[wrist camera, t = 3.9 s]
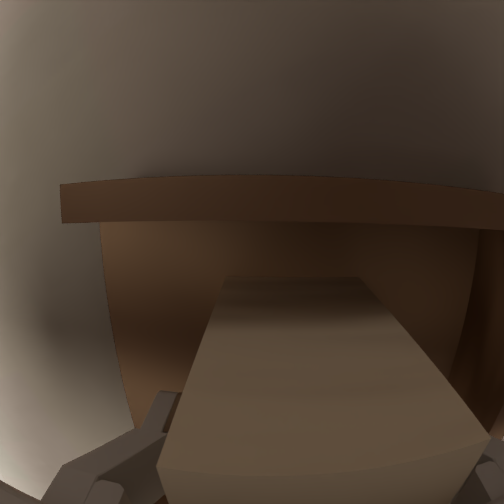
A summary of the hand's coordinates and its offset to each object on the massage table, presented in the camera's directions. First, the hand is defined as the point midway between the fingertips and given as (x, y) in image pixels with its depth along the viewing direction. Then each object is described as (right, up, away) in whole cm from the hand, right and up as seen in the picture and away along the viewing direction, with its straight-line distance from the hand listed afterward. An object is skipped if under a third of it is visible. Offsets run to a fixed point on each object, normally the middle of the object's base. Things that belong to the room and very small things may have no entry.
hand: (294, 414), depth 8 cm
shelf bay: (0, +1, +3) cm, 3 cm away
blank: (0, +1, +3) cm, 3 cm away
